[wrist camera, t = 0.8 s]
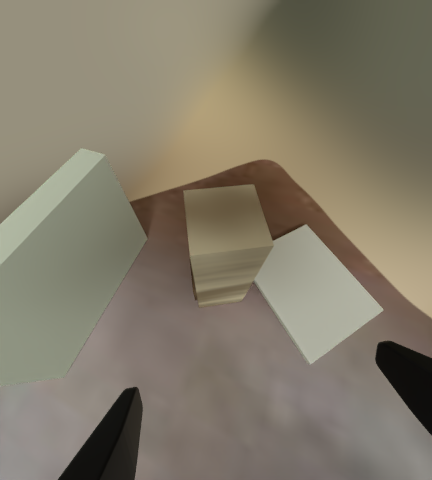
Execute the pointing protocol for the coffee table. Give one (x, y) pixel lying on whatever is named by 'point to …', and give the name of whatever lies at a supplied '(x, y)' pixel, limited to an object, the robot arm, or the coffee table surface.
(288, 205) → the coffee table surface
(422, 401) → the robot arm
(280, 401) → the coffee table surface
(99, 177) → the sage screen
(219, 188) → the birch block
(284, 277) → the grey pad
